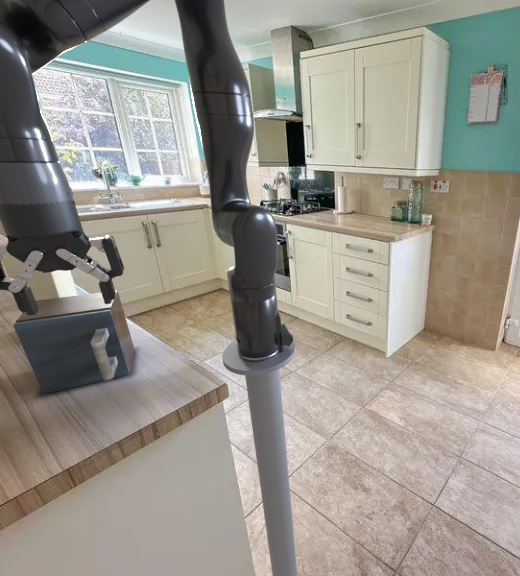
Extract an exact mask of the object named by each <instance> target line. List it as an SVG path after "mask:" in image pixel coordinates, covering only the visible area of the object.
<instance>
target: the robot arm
mask: <svg viewBox="0 0 520 576" xmlns="http://www.w3.org/2000/svg"><path fill="white" fill-rule="evenodd" d="M149 2H151V0H0V223H1V226H2V228H3V231H4V234H5V236H6V237H7V243H4V244H1V243H0V290H1V291H6V292H9V293H11V295H12V297H13V299H14V302H15V304H16V306H17V308H18V310H19V311H20V313H21V314H22V313H23V312H26V313H27V315H28V316H29V315H36V313H37V312H38V305H37V303H36V300H35V298H34V295H33V293H32V290H31V288H30V287H27V286H26V284H27V283H28V281H29V280H30V278H31V277H32V275H33V274H34V272H35V271H36V270H37V271H40V272H43V273H49V272H53V271H57V270H62V271H68V270H70V271H73V270H75V269H77V268H78V269H79V270H80V271H82V272H84V273H86V274H89V275H91V276H92V277H93V278H95V279H97V280H98V286H99V289H100V290H99V291H100V293H102V296H103V300H104V303H105V304H111V302H112V300H114V298H115V294H116V292H115V291H116V289H115V285H114V282H113V279H115V278H116V277H121V276H123V274H124V270H125V265H124V263H123V260H122V258H121V254H120V252H119V249H118V245H117V243H116V241H115V238H114V236H113V235H111V234H105V235H104V236H102V237H93V238H90V237H88V236H87V235H86V233H85V231H84V228H83V225H82V222H81V219H80V215H79V212H78V209H77V205H76V203H75V199H74V193H73V189H72V187H71V186H70V183H69V180H68V177H67V175H66V173H65V171H64V169H63V167H62V165H61V162H60V159H59V156H58V153H57V149H56V146H55V143H54V140H53V137H52V134H51V131H50V129H49V126H48V124H47V121H46V119H45V118H44V116H43V114H42V110H41V105H40V100H39V96H38V93H37V89H36V84H35V80H34V76H33V75H34V74H36V73H37V72H38V71H40V70H41V69H43V68H44V67H46V66H47V65H49V64H50V63H51V62H52V61H54V60H55V59H57V58H58V57H59V56H61V55H62V54H63V53H65V52H67V51H70V50H73V49H74V48H77V47H80V46H81V45H84V44H86V43H87V42H89V41H91V40H92V39H95V38H96V37H98V36H101V35H102V34H104V33H105V32H107V31H109V30H111V29H113V28H114V27H115V26H117V25H119V24H120V23H122V22H123V21H125V20H126V19H128V18H129V17H130V16H131V15H133V14H134V13H136V12H137V11H138V10H140V9H142V7H143V6H145V5H146V4H147V3H149ZM174 4H175V8H176V11H177V15H178V20H179V25H180V26H179V27H180V31H181V39H182V45H183V52H184V58H185V63H186V68H187V75H188V81H189V87H190V88H189V89H190V93H191V99H192V104H193V110H194V114H195V120H196V124H197V127H198V132H199V137H200V142H201V147H202V153H203V158H204V162H205V167H206V171H207V178H208V188H209V198H210V199H209V200H210V213H211V222H212V226H213V230H214V232H215V235H216V236H217V237H218V239H219V240H220V241H221V242H222V243H224V244H225V245H227V246H228V247H232V248H233V255H234V264H233V266H230V267H229V269H228V270H227V271H226V276H227V283H228V291H229V297H230V304H231V311H232V320H233V326H234V334H233V336H234V339H235V340H236V342H237V351H238V356H239V357H240V358H241V359H243V360H246V361H252V362H256V361H263V360H267V359H270V358H272V357H274V356H275V355H277V354H278V353H280V352H283V346H285V345H286V346H288V347H289V346H290V345H291V343H292V342H293V341H294V336H293V334H291V333H290V331H289V329H288V328H287V326H286V324H285V323H282V319H281V318H282V317H281V313H280V312H279V309H278V308H279V307H278V296H277V287H276V285H277V284H276V272H277V269H278V264H279V256H278V255H279V248H278V247H279V246H278V229H277V224H276V220H275V218H274V216H273V215H272V213H271V212H270V211H269V210H268V209H267V208H265V207H263V206H260V205H257V204H252V202H251V199H250V193H249V187H248V179H247V167H248V161H249V159H250V154H251V151H252V146H253V140H254V136H255V117H254V111H253V103H252V93H251V89H250V84H249V80H248V78H247V75H246V71H245V69H244V67H243V64H242V62H241V60H240V57H239V55H238V53H237V50H236V48H235V46H234V42H233V40H232V38H231V35H230V32H229V27H228V22H227V21H228V20H227V16H226V15H227V14H226V6H225V5H226V4H225V0H174ZM92 247H94V248H96V249H97V250H98V251H99V252H100V253H105V255H106V258H107V260H108V264H109V266H110V268H106V267H105V266H103V265H102V264H101V263H100V262H99V261H98V260H96V259H95V258H94V257H92V256H91V255H90V254H88V253H89V251H90V249H91V248H92ZM5 253H9V254H10V255H12V256H13V257H15V258H17V259H18V260H20V261H21V262H23V263H24V264H23V265H22V267H21V268H20V270H19V271H18V273H17V274H16V277H15V278H14V279H9V277H7V276H6V273H5V270H4V267H3V266H4V265H3V264H2V263H3V262H2V259H3V258H5ZM235 340H234V341H235Z"/></svg>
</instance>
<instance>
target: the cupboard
mask: <svg viewBox="0 0 520 576" xmlns="http://www.w3.org/2000/svg"><path fill="white" fill-rule="evenodd" d="M115 292H116V294H115V298H114V300H112V302H111V304H105V303H104V300H103V296H102V293H101V292H93V293H86V294H78V295H77V296H69V297H61V298H53V299H45V300H37V301H36V303H37V305H38V312H37V313H36V315H29V316H28V315H27V313H26V312H23V313H22V312H21V314H20V315H19V317H18V318H17V319H16V320H15V323H16V322H23V321H30V320H37V319H43V318H50V317H57V316H64V315H71V314H78V313H85V312H92V311H99V310H106V309H111V311H112V314H113V317H114V321H115V324H116V327H117V330H118V334H119V337H120V340H121V344H122V347H123V350H124V354H125V357H126V360H127V363H128V367H129V370H130V371H131V370H132V365H133V360H134V357H135V356H134V355H135V349H136V348H135V345H134V342H133V339H132V335H131V332H130V327H129V324H128V322H127V317H126V314H125V311H124V308H123V304H122V300H121V298H120V293H119V291H118V290H115Z"/></svg>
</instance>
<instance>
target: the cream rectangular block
mask: <svg viewBox="0 0 520 576" xmlns="http://www.w3.org/2000/svg"><path fill="white" fill-rule="evenodd" d="M1 262H2V263H3V264H2V265H3V266H4V269H5V271H6V274H7V276H8V278H9V279H14V278H15V277H16V274H17V273H18V271H19V270H20V268H21V267H22V265H23V264H24V263H23V262H21V261H20V260H18V259H17V258H15V257H13V256H12V255H10V254H9V253H5V258H3V259H2V260H1ZM26 286H27V287H30V288H31V290H32V293H33V295H34V298H35V300H36V301H37V300H45V299H53V298H61V297H69V296H77V295H79V294H78V291H77V290H78V289H77V287H76V283H75V281H74V278H73V274H72V270H68V271H62V270H57V271H53V272H49V273H43V272H40V271H37V270H36V271H35V272H34V274H33V275H32V277H31V278H30V280H29V281H28V283H27V284H26Z"/></svg>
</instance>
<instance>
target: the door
mask: <svg viewBox="0 0 520 576" xmlns="http://www.w3.org/2000/svg"><path fill="white" fill-rule="evenodd" d="M12 326H13V329H14V331H15V334H16V335H17V337H18V340H19V342H20V344H21V346H22V348H23V351H24V354H25V355H26V358H27V360H28V362H29V365H30V367H31V369H32V371H33V374H34V376H35V378H36V380H37V382H38V385H39V388H40V389H41V392H42V394H43V395H45V394H49V393H54V392H57V391H63V390H67V389H71V388H76V387H80V386H84V385H88V384H89V385H90V384H93V383H98V382H102V381H103V382H104V381H105V382H106V381H110V380H112V379H115V378H120V377H124V376H128V375H131V374H130V373H131V370H129V367H128V363H127V360H126V357H125V354H124V350H123V347H122V344H121V340H120V337H119V334H118V330H117V327H116V324H115V321H114V317H113V314H112V311H111V309H106V310H99V311H92V312H85V313H78V314H71V315H64V316H57V317H50V318H43V319H37V320H30V321H23V322H16V321H15V322H14V324H12Z"/></svg>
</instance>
